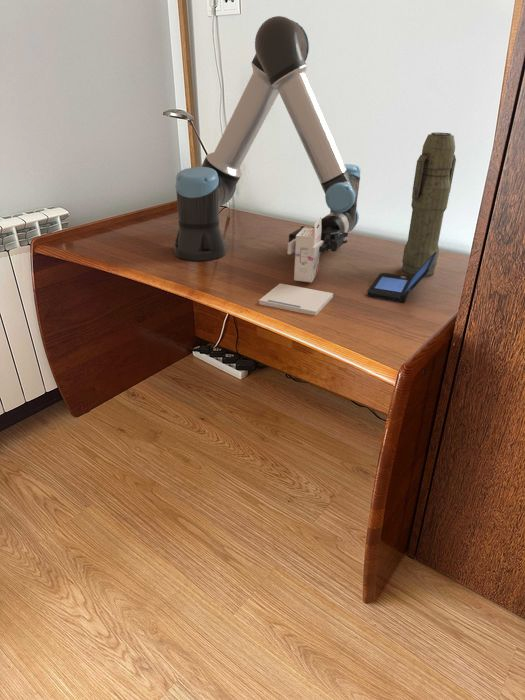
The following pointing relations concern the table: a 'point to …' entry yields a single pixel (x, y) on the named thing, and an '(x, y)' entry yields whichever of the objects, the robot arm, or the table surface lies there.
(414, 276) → the handheld game console
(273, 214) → the table surface
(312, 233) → the ink cartridge box
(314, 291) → the notepad
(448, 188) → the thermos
